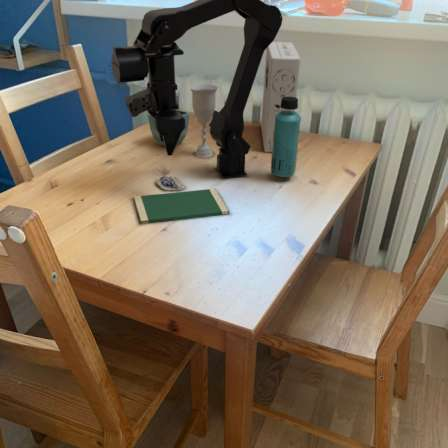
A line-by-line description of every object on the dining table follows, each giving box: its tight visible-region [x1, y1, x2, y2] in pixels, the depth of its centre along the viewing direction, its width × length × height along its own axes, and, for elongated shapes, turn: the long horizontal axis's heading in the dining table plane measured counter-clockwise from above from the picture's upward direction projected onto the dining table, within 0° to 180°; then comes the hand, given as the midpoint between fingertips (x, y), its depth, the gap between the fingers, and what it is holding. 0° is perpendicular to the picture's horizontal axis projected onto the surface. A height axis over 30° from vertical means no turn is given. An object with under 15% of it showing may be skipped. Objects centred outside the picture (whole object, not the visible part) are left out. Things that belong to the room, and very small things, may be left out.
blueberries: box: [154, 175, 184, 192], centre depth 120 cm, size 7×8×2 cm
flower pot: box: [147, 109, 190, 147], centre depth 140 cm, size 9×9×9 cm
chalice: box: [189, 83, 219, 159], centre depth 132 cm, size 7×7×18 cm
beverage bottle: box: [270, 97, 302, 178], centre depth 120 cm, size 6×7×20 cm
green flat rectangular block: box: [133, 188, 230, 225], centre depth 112 cm, size 20×12×1 cm, turn 106°
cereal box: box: [260, 41, 301, 153], centre depth 140 cm, size 22×8×25 cm, turn 179°
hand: (166, 147), depth 115 cm, fingers open, 9 cm apart
